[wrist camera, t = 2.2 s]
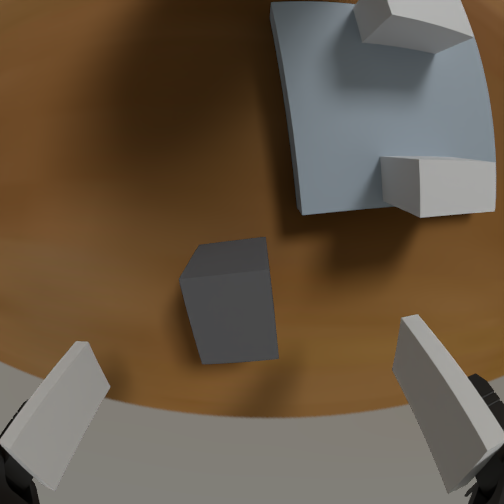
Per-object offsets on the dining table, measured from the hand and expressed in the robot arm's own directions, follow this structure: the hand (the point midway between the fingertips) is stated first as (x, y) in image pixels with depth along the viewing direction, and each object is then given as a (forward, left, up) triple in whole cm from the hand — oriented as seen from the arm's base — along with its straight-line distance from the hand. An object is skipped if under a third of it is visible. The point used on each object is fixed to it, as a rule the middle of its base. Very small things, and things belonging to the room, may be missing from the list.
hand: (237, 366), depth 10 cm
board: (+11, +10, -8) cm, 17 cm away
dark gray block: (0, 0, -8) cm, 8 cm away
